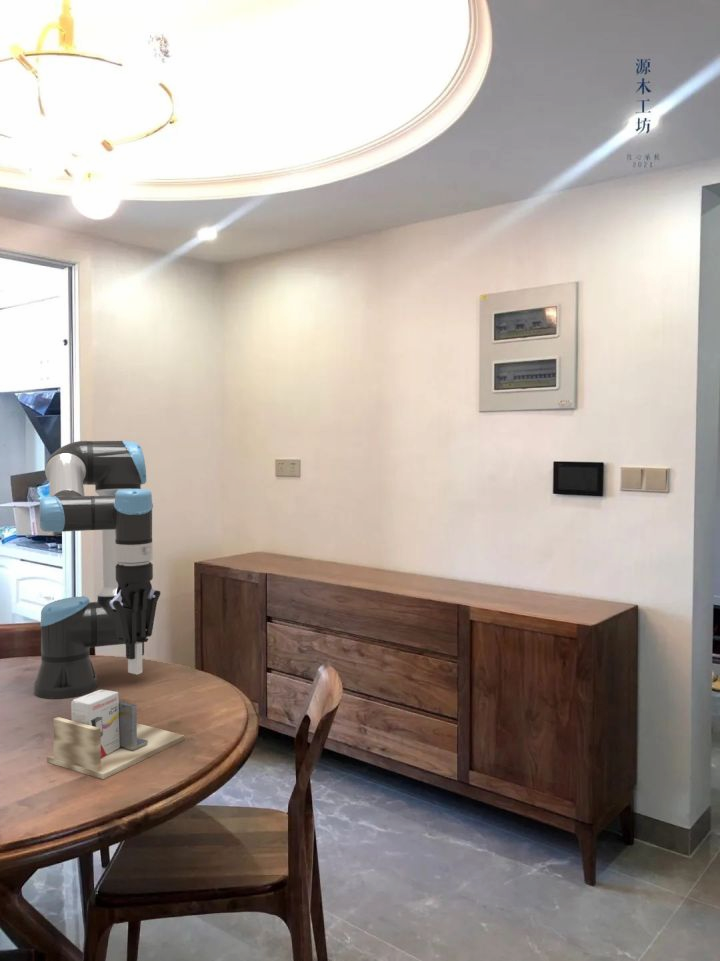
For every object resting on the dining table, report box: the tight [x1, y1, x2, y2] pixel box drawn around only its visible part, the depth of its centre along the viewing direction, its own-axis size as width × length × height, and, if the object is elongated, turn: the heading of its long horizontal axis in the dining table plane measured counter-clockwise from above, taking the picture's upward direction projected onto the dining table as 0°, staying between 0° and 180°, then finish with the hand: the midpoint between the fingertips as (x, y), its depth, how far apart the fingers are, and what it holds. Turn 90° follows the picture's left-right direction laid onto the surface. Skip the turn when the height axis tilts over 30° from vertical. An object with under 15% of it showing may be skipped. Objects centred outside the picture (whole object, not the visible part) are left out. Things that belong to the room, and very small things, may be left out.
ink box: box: [70, 689, 120, 757], centre depth 149 cm, size 9×5×12 cm, turn 156°
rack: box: [46, 716, 185, 780], centre depth 153 cm, size 16×22×9 cm
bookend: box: [119, 700, 148, 750], centre depth 154 cm, size 10×4×9 cm, turn 60°
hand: (135, 672), depth 158 cm, fingers closed
